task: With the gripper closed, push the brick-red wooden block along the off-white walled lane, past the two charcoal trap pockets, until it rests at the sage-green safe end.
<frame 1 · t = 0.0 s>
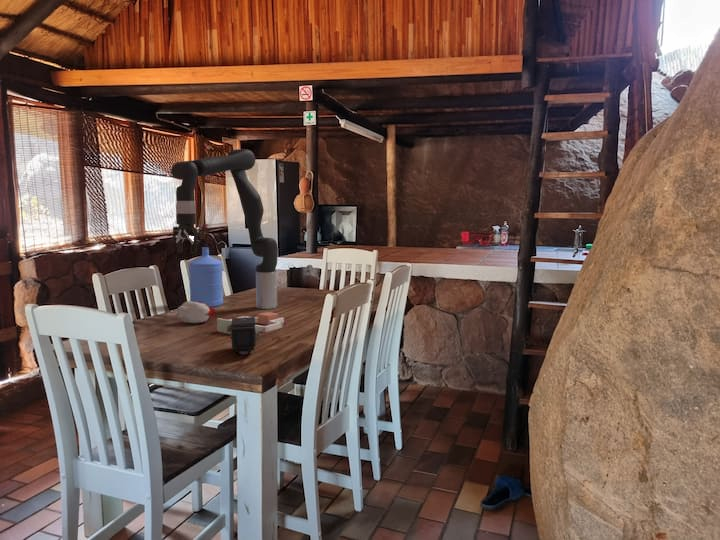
hand: (187, 252, 218), 29 cm above the table, fingers open, 8 cm apart
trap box: (252, 326, 219), on the table
camera: (243, 352, 182), on the table
white and red lump: (198, 322, 226), on the table
water jug: (206, 305, 265), on the table
block: (268, 323, 226), resting in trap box
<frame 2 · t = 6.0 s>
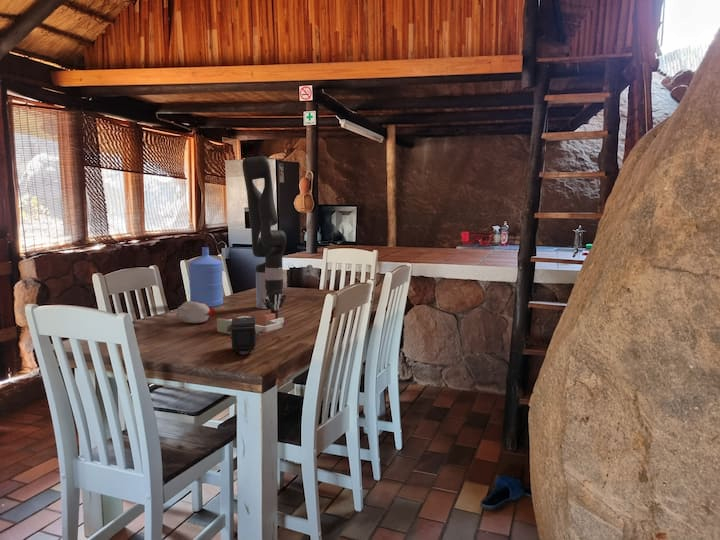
hand: (274, 318, 229), 1 cm above the table, fingers closed
block: (265, 323, 225), resting in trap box, touching gripper
everything else where it was.
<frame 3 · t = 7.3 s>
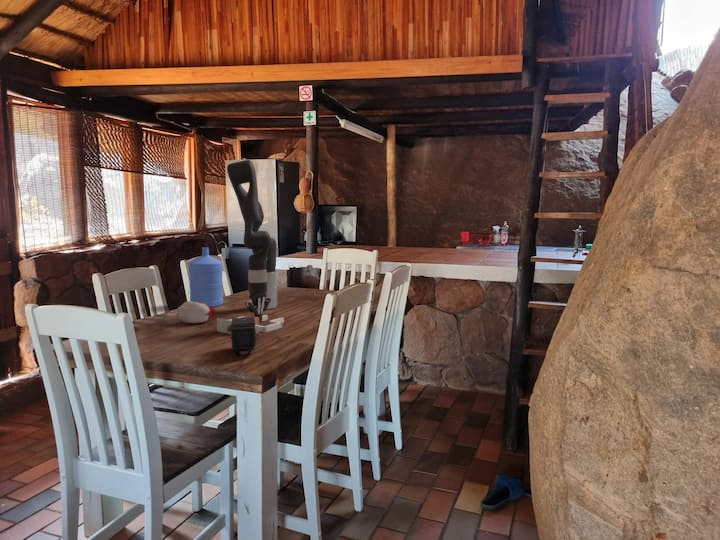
hand: (258, 322, 221), 1 cm above the table, fingers closed
block: (248, 327, 217), resting in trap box, touching gripper
everything else where it was.
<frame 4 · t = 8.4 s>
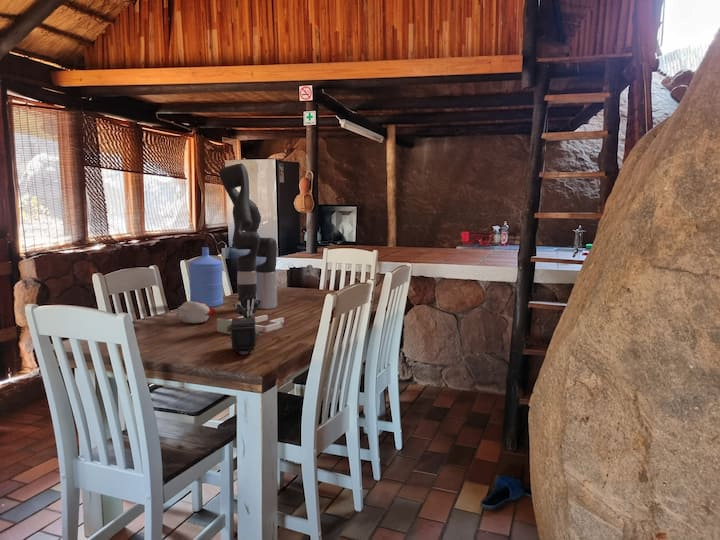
hand: (247, 325, 216), 1 cm above the table, fingers closed
block: (238, 331, 212), resting in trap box, touching gripper
everything else where it was.
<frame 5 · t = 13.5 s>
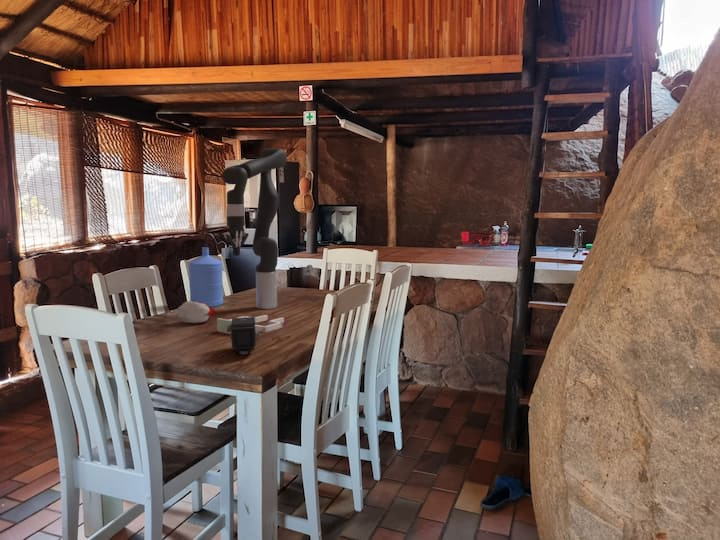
hand: (236, 255, 233), 27 cm above the table, fingers closed
block: (235, 331, 211), resting in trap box
everything else where it was.
at the end: block 0.6 cm from the target spot on the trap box, point 0.0 cm above the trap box's base; block tilted 0° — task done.
